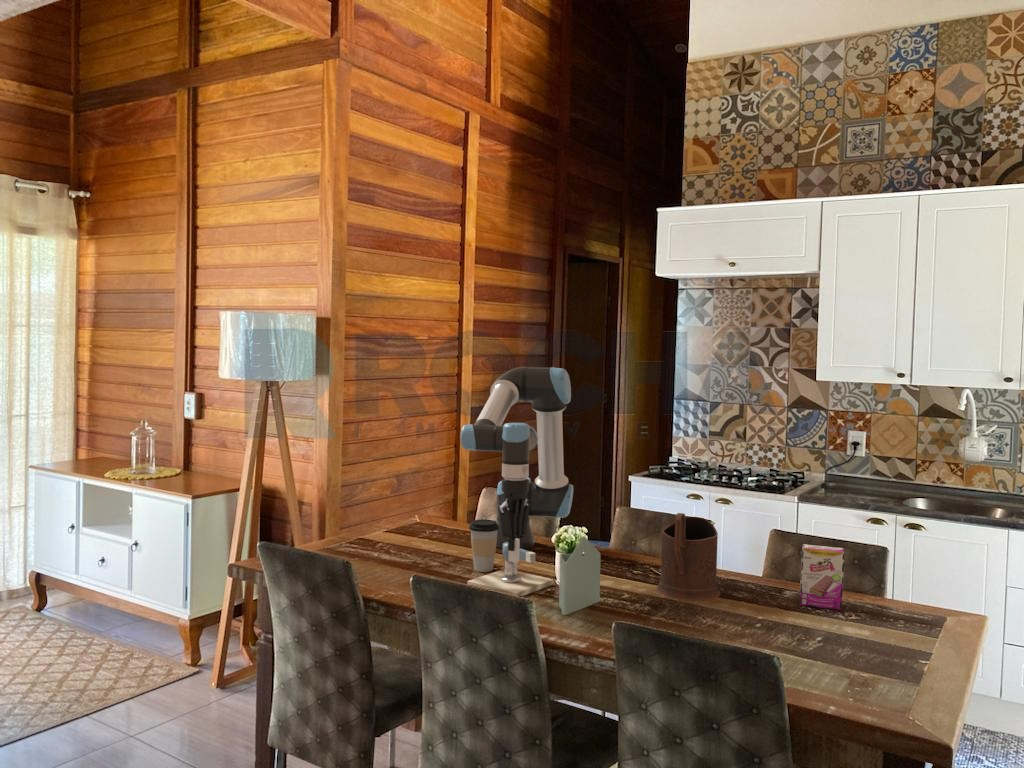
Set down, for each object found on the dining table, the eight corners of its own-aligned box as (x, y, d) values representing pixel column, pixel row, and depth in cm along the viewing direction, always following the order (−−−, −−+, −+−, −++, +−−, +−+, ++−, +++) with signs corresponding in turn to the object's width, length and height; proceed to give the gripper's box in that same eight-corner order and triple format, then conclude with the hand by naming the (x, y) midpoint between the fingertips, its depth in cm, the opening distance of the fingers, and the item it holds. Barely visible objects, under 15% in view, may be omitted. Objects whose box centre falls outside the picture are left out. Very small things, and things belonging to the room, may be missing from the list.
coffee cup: (499, 566, 275) (500, 519, 274) (496, 574, 265) (497, 525, 264) (470, 564, 276) (471, 518, 275) (466, 572, 266) (466, 524, 265)
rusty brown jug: (726, 587, 256) (729, 503, 254) (709, 609, 234) (711, 518, 233) (665, 578, 264) (667, 497, 262) (642, 600, 242) (645, 511, 240)
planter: (576, 595, 245) (578, 526, 244) (600, 601, 240) (601, 531, 239) (541, 609, 232) (542, 536, 231) (564, 615, 227) (566, 541, 226)
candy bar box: (799, 606, 239) (801, 547, 238) (799, 601, 243) (801, 543, 243) (842, 611, 235) (845, 551, 234) (842, 605, 240) (844, 547, 239)
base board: (505, 573, 266) (505, 568, 266) (553, 584, 255) (553, 579, 255) (467, 586, 252) (467, 581, 252) (516, 598, 241) (516, 593, 241)
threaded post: (508, 576, 258) (509, 554, 258) (524, 579, 254) (525, 558, 254) (496, 580, 253) (496, 558, 253) (512, 584, 249) (512, 562, 249)
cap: (499, 556, 254) (499, 543, 253) (512, 554, 257) (512, 541, 257) (525, 566, 244) (526, 552, 244) (539, 563, 247) (539, 549, 247)
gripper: (511, 482, 234) (510, 568, 236) (539, 477, 244) (538, 559, 246) (490, 479, 239) (488, 563, 240) (518, 474, 249) (517, 554, 250)
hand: (513, 561), depth 243 cm, fingers closed
